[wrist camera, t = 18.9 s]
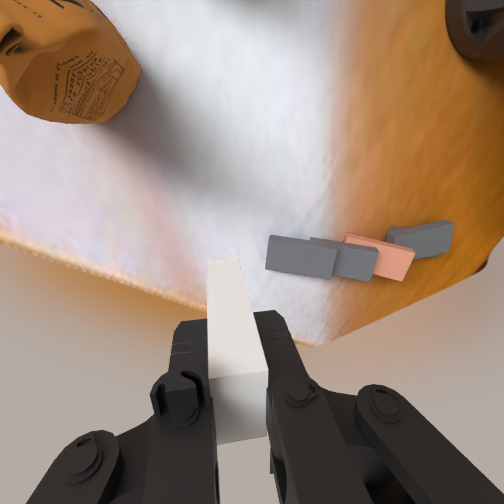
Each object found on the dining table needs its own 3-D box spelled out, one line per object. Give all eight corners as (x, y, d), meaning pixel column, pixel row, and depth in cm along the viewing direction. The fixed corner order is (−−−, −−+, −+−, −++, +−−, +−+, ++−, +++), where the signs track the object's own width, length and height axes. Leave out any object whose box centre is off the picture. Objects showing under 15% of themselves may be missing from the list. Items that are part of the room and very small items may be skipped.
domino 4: (387, 232, 43) (444, 219, 44) (385, 259, 45) (439, 246, 46) (395, 237, 41) (454, 223, 42) (392, 264, 43) (449, 251, 44)
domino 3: (346, 232, 43) (412, 248, 41) (337, 259, 45) (399, 275, 43) (347, 236, 41) (415, 253, 40) (337, 264, 44) (402, 281, 42)
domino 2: (310, 237, 43) (376, 247, 41) (305, 265, 45) (368, 275, 43) (310, 241, 41) (379, 252, 39) (304, 270, 43) (370, 281, 41)
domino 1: (270, 234, 41) (336, 244, 40) (266, 263, 43) (329, 273, 42) (268, 239, 40) (337, 249, 38) (265, 269, 42) (330, 279, 40)
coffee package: (53, -45, 25) (-462, -641, 6) (156, 75, 31) (72, -21, 11) (-8, 35, 27) (-576, -213, 7) (99, 136, 32) (-63, 150, 13)
